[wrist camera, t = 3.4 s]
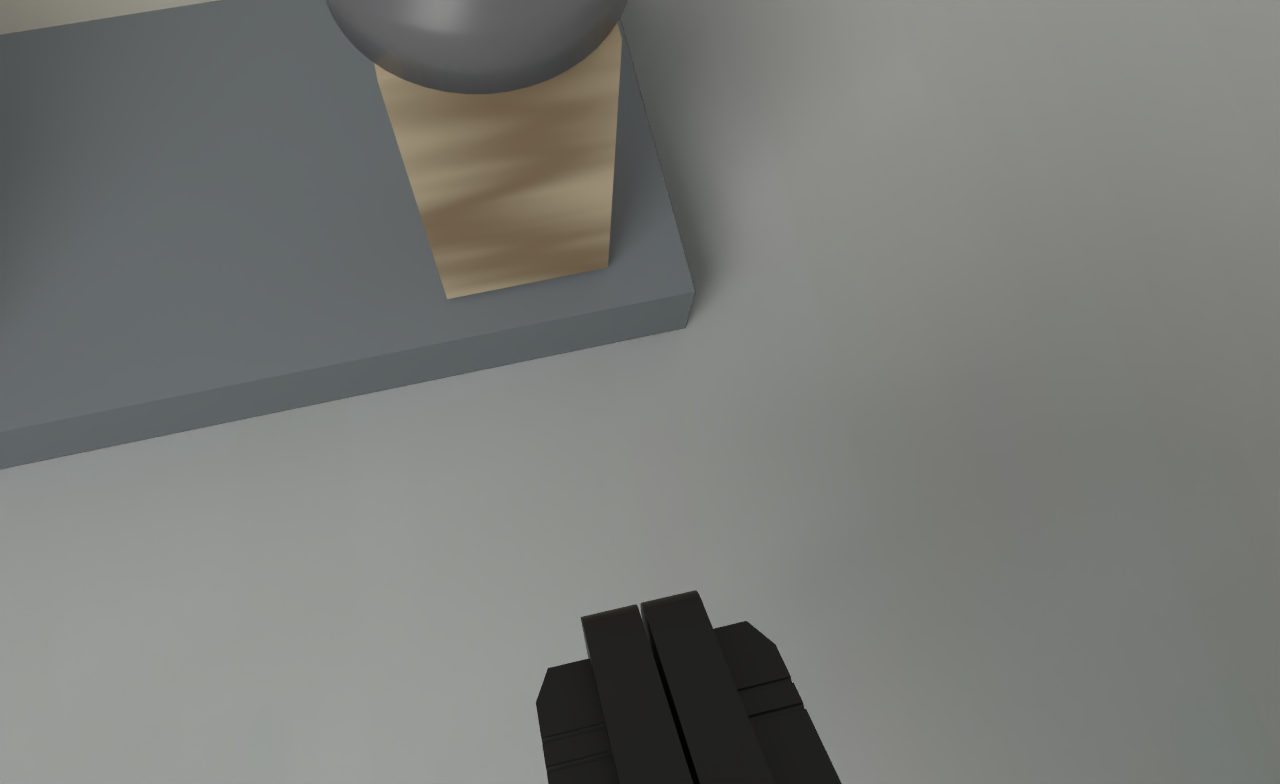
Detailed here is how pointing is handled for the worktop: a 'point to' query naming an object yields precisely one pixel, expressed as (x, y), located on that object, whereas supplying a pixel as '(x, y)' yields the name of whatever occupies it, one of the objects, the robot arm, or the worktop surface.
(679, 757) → the robot arm
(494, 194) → the knob
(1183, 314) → the worktop surface
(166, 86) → the slider board
